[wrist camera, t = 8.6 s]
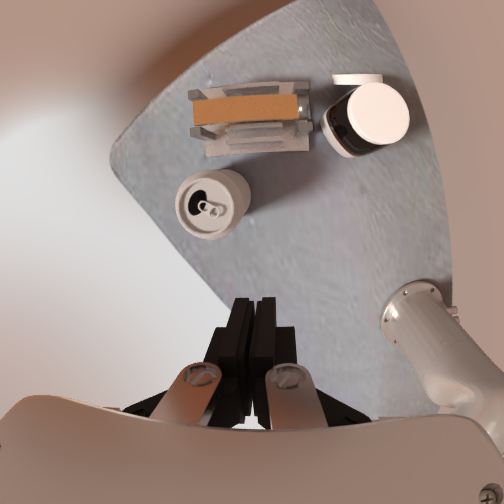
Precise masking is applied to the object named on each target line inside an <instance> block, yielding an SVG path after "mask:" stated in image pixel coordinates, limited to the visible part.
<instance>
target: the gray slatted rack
mask: <svg viewBox="0 0 504 504" xmlns="http://www.w3.org/2000/svg"><path fill="white" fill-rule="evenodd" d="M308 91H309V82H308V81H294V82H279V81H269V82H254V83H243V84H233V85H225V86H222V87H218V88H210V89H204V90H202V92H201V91H200V90H198V89H196V90H190V91H188V99H189V100H191V101H192V102H193V101H198V100H206V99H214V98H224V97H236V96H250V95H273V94H301V93H304V94H307V93H308ZM312 131H313V125H312V122H307V120H263V121H245V122H232V123H221V124H211V125H204V128H202V127H193V128H190V136H191V137H194V138H197V139H201V140H204V141H205V145H206V157H214V156H224V155H235V154H248V153H264V152H284V151H309V138H308V135H309V134H310V133H311V132H312Z"/></svg>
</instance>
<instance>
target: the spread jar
mask: <svg viewBox="0 0 504 504" xmlns="http://www.w3.org/2000/svg"><path fill="white" fill-rule="evenodd" d="M332 77H333V84H337V85H362V86H359V87H357V88H355V89H353V90H351V91H349V92H348V93H346V94H345V95H343V96H342V97H341V98H339V99H338V100H337V101H336V102H335V103H333V104H332V105H331V106H330V107H329V108H328V109H327V110H326V111H325V113H324V114H323V115H322V117H321V119H320V125H321V128H322V131H323V133H324V135H325V137H326V138H327V140H328V142H329V143H330V144H331V146H332V147H333V148H334V149H335V150H336V151H337V152H338V153H339V154H340V155H342V156H343V157H347V158H353V157H360V156H364V155H367V154H370V153H373V152H375V151H378V150H380V149H382V148H384V147H386V146H388V145H390V144H391V143H394V142H396V141H398V140H400V139H401V138H402V137H403V136H404V135H405V133H406V132H407V129H408V127H409V120H410V116H409V110H408V107H407V105H406V103H405V101H404V99H403V98H402V96H401V95H400V94H399V93H398V92H397V91H396V90H395V89H393V88H392V87H390V86H388V85H386V84H383V78H382V75H378V74H338V75H332Z"/></svg>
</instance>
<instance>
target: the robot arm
mask: <svg viewBox="0 0 504 504" xmlns="http://www.w3.org/2000/svg"><path fill="white" fill-rule="evenodd" d="M457 310H458V309H457V307H456V306H453V307H449V308H448V307H447V306H446V305H445V304H444V303H443V298H442V295H441V293H440V291H439V290H438V289H437V288H436V287H435V286H434V285H432V284H431V283H428V282H424V281H416V282H412V283H409V284H407V285H405V286H403V287H402V288H400V289H399V290H397V291H396V292H395V293H394V294H393V295H392V296H391V298H390V299H389V300H388V302H387V303H386V305H385V307H384V309H383V312H382V315H381V322H380V325H381V330H382V333H383V335H384V336H385V338H386V339H387V340H388V341H389V342H390V343H392V344H394V345H397V346H401V348H402V350H403V352H404V354H405V355H406V357H407V359H408V361H409V363H410V364H411V366H412V368H413V370H414V372H415V374H416V376H417V377H418V379H419V381H420V383H421V385H422V387H423V389H424V391H425V393H426V395H427V396H428V398H429V399H430V400H431V401H432V402H434V403H435V404H438V405H440V406H444V407H450V408H455V409H454V410H453V411H452V412H451V413H450V414H425V415H417V416H408V417H378V419H377V420H370V418H369V417H367V416H366V415H365V414H363V413H361V412H359V411H357V410H355V409H353V408H351V407H349V406H347V405H346V404H344V403H342V402H340V401H338V400H336V399H334V398H333V397H331V396H329V395H327V394H325V393H324V392H322V391H320V390H318V389H316V388H315V386H314V383H313V380H312V377H311V375H310V373H309V371H308V370H307V369H306V368H305V367H303V366H301V365H298V364H297V355H296V341H295V328H294V326H293V327H277V326H276V298H275V297H263V298H262V301H257V307H256V313H255V309H254V301H249V298H235V301H234V304H233V307H232V310H231V314H230V317H229V320H228V323H227V326H226V327H217V328H216V329H215V331H214V334H213V336H212V339H211V342H210V344H209V347H208V350H207V353H206V355H205V358H204V361H203V362H198V363H193V364H191V365H188V366H187V367H185V368H184V369H183V370H182V371H181V372H180V373H179V375H178V376H177V378H176V379H175V381H174V382H173V384H172V385H171V387H170V388H169V389H168V390H166V391H164V392H162V393H159V394H157V395H155V396H153V397H150V398H148V399H145V400H143V401H141V402H138V403H136V404H133V405H131V406H129V407H127V408H125V409H124V410H123V411H121V410H120V408H110V407H100V406H96V405H92V404H88V403H85V402H81V401H77V400H74V399H69V398H65V397H60V396H52V395H33V396H28V397H25V398H23V399H22V400H20V401H19V402H18V403H16V404H15V405H14V406H13V407H12V408H11V409H10V410H9V411H8V412H7V413H6V414H5V416H4V417H3V418H2V419H1V420H0V504H504V458H502V455H503V454H504V372H503V371H502V370H501V369H500V368H499V367H498V366H497V365H496V364H495V363H494V362H493V361H492V360H491V359H490V358H489V357H488V356H487V355H486V354H485V353H484V351H483V350H482V349H481V348H480V347H479V346H478V345H477V344H476V342H475V341H474V340H473V339H472V338H471V337H470V336H469V334H467V332H466V331H465V330H464V329H463V328H462V327H461V326H460V325H459V323H460V320H459V317H458V316H455V317H452V316H451V314H456V313H457ZM252 400H253V407H254V416H257V417H258V423H259V424H260V425H261V426H262V427H264V428H265V429H266V430H264V429H260V430H259V429H235V428H234V429H233V428H232V427H233V426H235V425H237V424H244V422H245V416H250V415H251V407H252Z"/></svg>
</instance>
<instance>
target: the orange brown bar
mask: <svg viewBox="0 0 504 504" xmlns="http://www.w3.org/2000/svg"><path fill="white" fill-rule="evenodd" d="M193 116H194V126H203V125H211V124H221V123H232V122H245V121H263V120H310V119H311V114H310V103H309V94H304V93H301V94H273V95H250V96H236V97H224V98H214V99H206V100H198V101H193Z"/></svg>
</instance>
